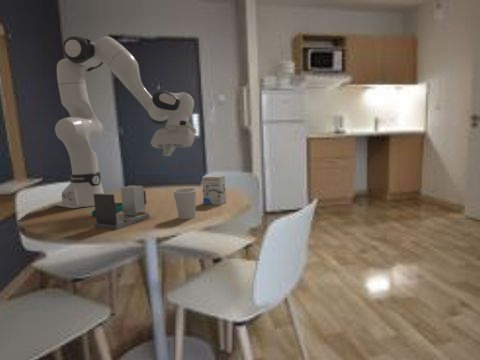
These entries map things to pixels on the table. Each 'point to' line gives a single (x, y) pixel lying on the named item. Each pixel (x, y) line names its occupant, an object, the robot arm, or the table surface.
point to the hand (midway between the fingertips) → (166, 155)
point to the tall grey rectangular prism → (133, 200)
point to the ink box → (214, 189)
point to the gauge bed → (112, 213)
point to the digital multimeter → (117, 207)
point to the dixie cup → (185, 202)
